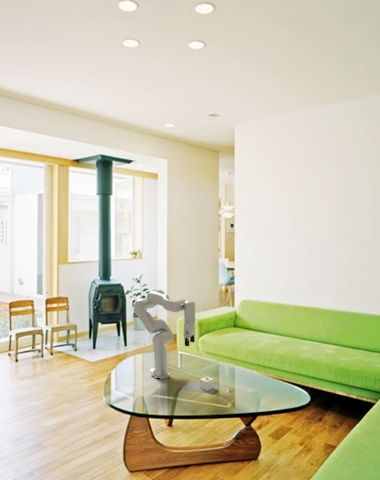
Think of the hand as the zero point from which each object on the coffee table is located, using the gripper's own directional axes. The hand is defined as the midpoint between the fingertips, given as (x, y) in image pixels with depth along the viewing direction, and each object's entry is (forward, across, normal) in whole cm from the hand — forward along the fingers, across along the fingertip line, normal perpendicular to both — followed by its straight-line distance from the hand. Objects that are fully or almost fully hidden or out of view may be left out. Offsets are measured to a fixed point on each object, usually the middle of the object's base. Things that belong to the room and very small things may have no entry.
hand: (189, 343), depth 273 cm
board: (+27, +8, +11) cm, 30 cm away
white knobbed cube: (+25, +8, +16) cm, 31 cm away
